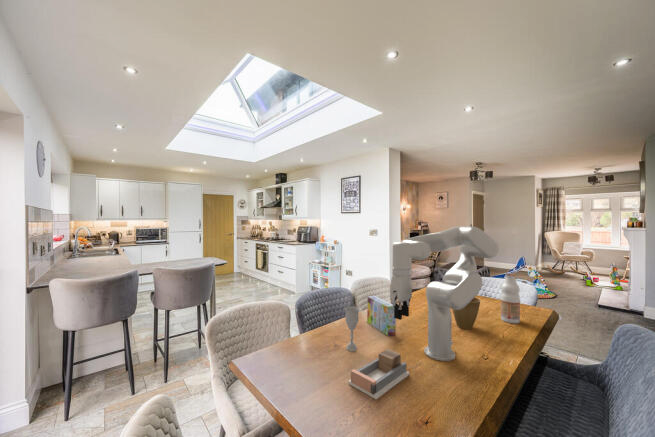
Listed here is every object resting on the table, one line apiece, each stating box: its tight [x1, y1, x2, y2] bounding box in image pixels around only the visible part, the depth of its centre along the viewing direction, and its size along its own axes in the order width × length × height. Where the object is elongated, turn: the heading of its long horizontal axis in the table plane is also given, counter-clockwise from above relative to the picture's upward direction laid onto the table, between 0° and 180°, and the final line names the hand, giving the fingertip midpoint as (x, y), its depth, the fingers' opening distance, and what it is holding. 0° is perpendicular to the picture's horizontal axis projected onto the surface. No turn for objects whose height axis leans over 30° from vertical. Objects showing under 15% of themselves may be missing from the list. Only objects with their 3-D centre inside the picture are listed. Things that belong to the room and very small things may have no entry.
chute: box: [347, 357, 410, 400], centre depth 101 cm, size 21×12×5 cm, turn 134°
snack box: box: [366, 295, 397, 337], centre depth 150 cm, size 21×6×15 cm, turn 22°
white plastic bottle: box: [500, 272, 521, 324], centre depth 163 cm, size 9×9×28 cm
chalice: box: [344, 306, 361, 352], centre depth 125 cm, size 7×7×18 cm
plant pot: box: [451, 296, 481, 330], centre depth 153 cm, size 15×15×16 cm
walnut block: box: [378, 348, 402, 373], centre depth 106 cm, size 6×6×6 cm
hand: (401, 316), depth 112 cm, fingers open, 4 cm apart
